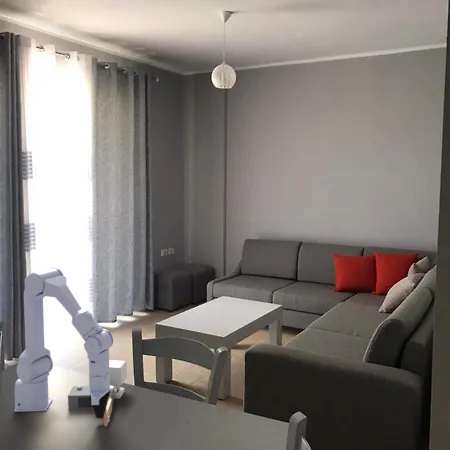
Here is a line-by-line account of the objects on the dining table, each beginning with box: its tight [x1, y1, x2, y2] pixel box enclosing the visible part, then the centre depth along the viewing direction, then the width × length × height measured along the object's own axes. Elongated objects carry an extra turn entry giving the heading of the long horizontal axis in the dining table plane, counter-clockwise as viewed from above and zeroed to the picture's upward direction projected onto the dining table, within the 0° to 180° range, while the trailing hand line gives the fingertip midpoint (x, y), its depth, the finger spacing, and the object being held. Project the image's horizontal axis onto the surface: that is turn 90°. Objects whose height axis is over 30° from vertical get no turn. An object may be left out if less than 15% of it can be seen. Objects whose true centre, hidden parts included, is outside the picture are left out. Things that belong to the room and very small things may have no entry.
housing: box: [67, 385, 116, 411], centre depth 163 cm, size 13×7×6 cm, turn 93°
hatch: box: [103, 396, 113, 427], centre depth 155 cm, size 11×2×4 cm, turn 4°
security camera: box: [109, 359, 128, 399], centre depth 171 cm, size 6×7×10 cm
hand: (100, 417), depth 152 cm, fingers closed, pressing on hatch
